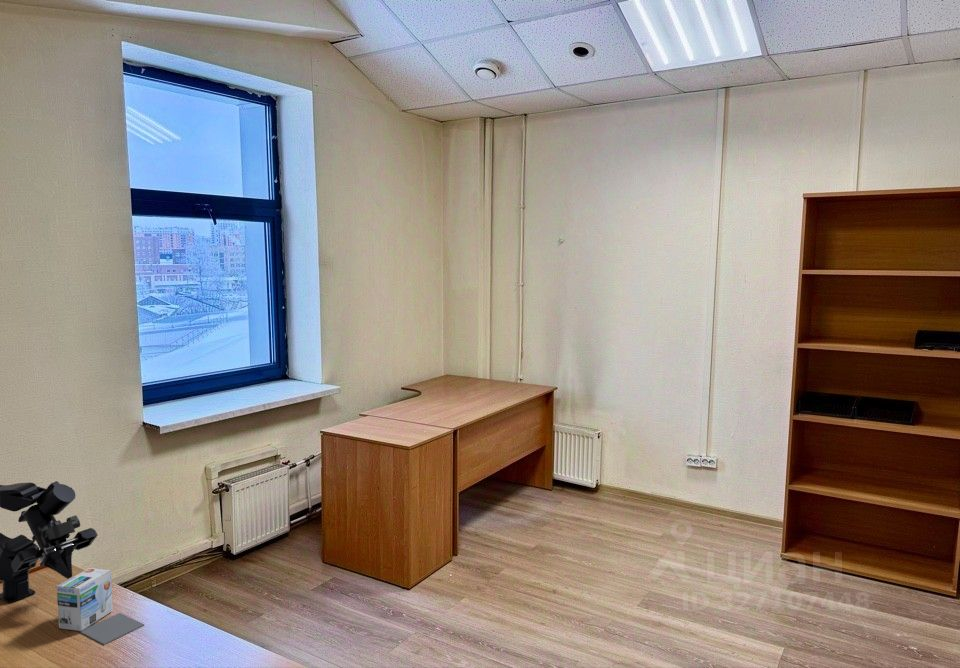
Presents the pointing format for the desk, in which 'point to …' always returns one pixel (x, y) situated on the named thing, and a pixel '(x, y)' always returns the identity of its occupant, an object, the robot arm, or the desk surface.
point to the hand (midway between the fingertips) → (70, 577)
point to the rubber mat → (111, 628)
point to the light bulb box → (84, 599)
